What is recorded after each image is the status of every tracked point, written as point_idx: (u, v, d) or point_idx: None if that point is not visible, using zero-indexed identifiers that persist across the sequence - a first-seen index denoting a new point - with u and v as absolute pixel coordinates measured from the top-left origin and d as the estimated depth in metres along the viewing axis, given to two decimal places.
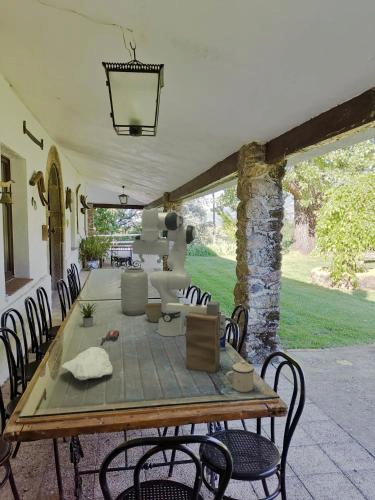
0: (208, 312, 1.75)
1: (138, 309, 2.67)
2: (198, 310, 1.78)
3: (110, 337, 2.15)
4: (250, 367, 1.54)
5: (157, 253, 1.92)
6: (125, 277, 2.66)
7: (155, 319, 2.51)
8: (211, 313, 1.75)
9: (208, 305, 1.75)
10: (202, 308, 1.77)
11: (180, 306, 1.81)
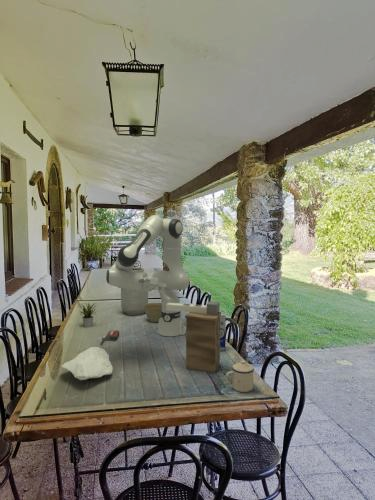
0: (208, 312, 1.75)
1: (138, 309, 2.67)
2: (198, 310, 1.78)
3: (110, 337, 2.15)
4: (250, 367, 1.54)
5: (155, 287, 1.86)
6: None
7: (155, 319, 2.51)
8: (211, 313, 1.75)
9: (208, 305, 1.75)
10: (202, 308, 1.77)
11: (180, 306, 1.81)
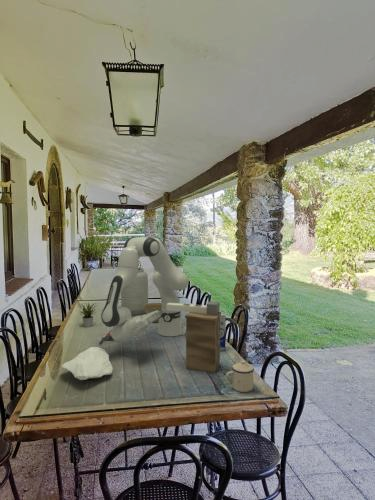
0: (208, 312, 1.75)
1: (138, 309, 2.67)
2: (198, 310, 1.78)
3: (109, 337, 2.15)
4: (250, 367, 1.54)
5: (149, 323, 1.83)
6: None
7: None
8: (211, 313, 1.75)
9: (208, 305, 1.75)
10: (202, 308, 1.77)
11: (180, 306, 1.81)
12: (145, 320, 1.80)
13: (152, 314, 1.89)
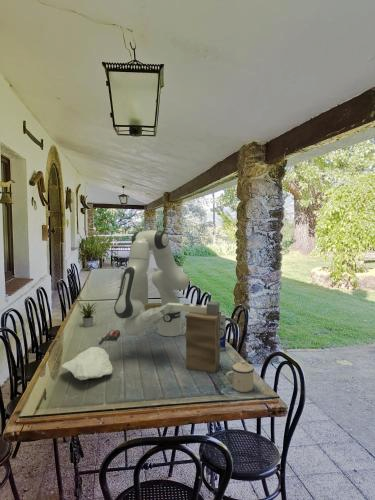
0: (208, 312, 1.75)
1: None
2: (198, 310, 1.78)
3: (109, 337, 2.15)
4: (250, 367, 1.54)
5: (163, 316, 1.81)
6: None
7: None
8: (211, 313, 1.75)
9: (208, 305, 1.75)
10: (202, 308, 1.77)
11: (180, 306, 1.81)
12: (159, 312, 1.77)
13: (165, 307, 1.87)
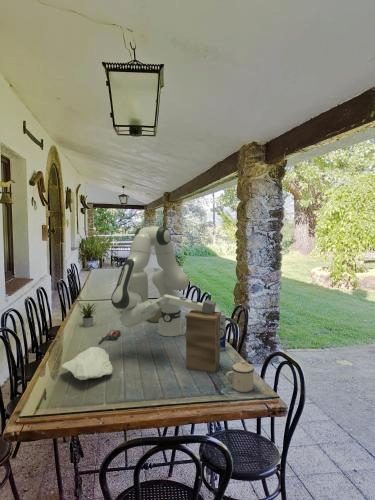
0: (203, 310, 1.76)
1: None
2: (194, 306, 1.79)
3: (109, 337, 2.15)
4: (250, 367, 1.54)
5: (159, 307, 1.81)
6: None
7: (155, 319, 2.51)
8: (206, 312, 1.76)
9: (205, 303, 1.76)
10: (198, 305, 1.78)
11: (177, 300, 1.81)
12: (155, 304, 1.78)
13: (162, 299, 1.87)
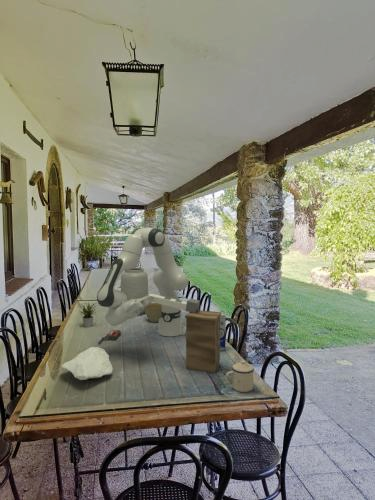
0: (187, 309, 1.79)
1: None
2: (178, 305, 1.81)
3: (109, 337, 2.15)
4: (250, 367, 1.54)
5: (143, 306, 1.83)
6: (125, 277, 2.66)
7: (155, 319, 2.51)
8: (190, 310, 1.78)
9: (188, 302, 1.78)
10: (182, 304, 1.80)
11: (161, 299, 1.83)
12: (139, 302, 1.80)
13: (146, 297, 1.89)
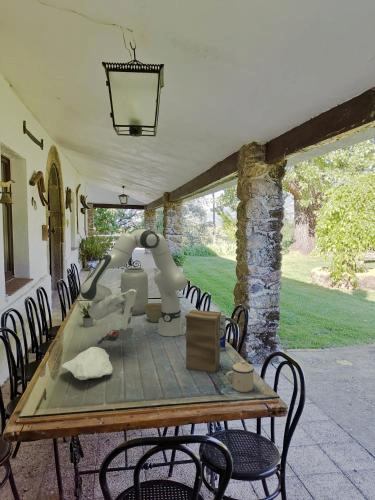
0: (120, 331, 1.90)
1: (138, 309, 2.67)
2: (124, 321, 1.90)
3: (109, 337, 2.16)
4: (250, 367, 1.54)
5: (124, 300, 1.86)
6: (125, 277, 2.66)
7: (155, 319, 2.51)
8: (119, 333, 1.91)
9: (126, 333, 1.90)
10: (125, 325, 1.91)
11: (129, 305, 1.89)
12: (120, 296, 1.83)
13: (128, 292, 1.92)
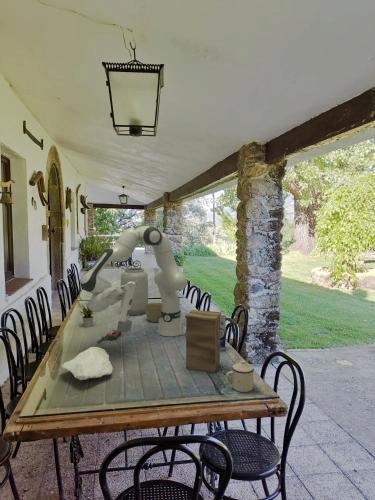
0: (119, 323, 1.90)
1: (138, 309, 2.67)
2: (123, 313, 1.90)
3: (109, 336, 2.16)
4: (250, 367, 1.54)
5: (123, 292, 1.86)
6: (125, 277, 2.66)
7: (155, 319, 2.51)
8: (118, 326, 1.91)
9: (125, 325, 1.89)
10: (124, 318, 1.90)
11: (128, 297, 1.89)
12: (119, 288, 1.83)
13: (127, 284, 1.92)
